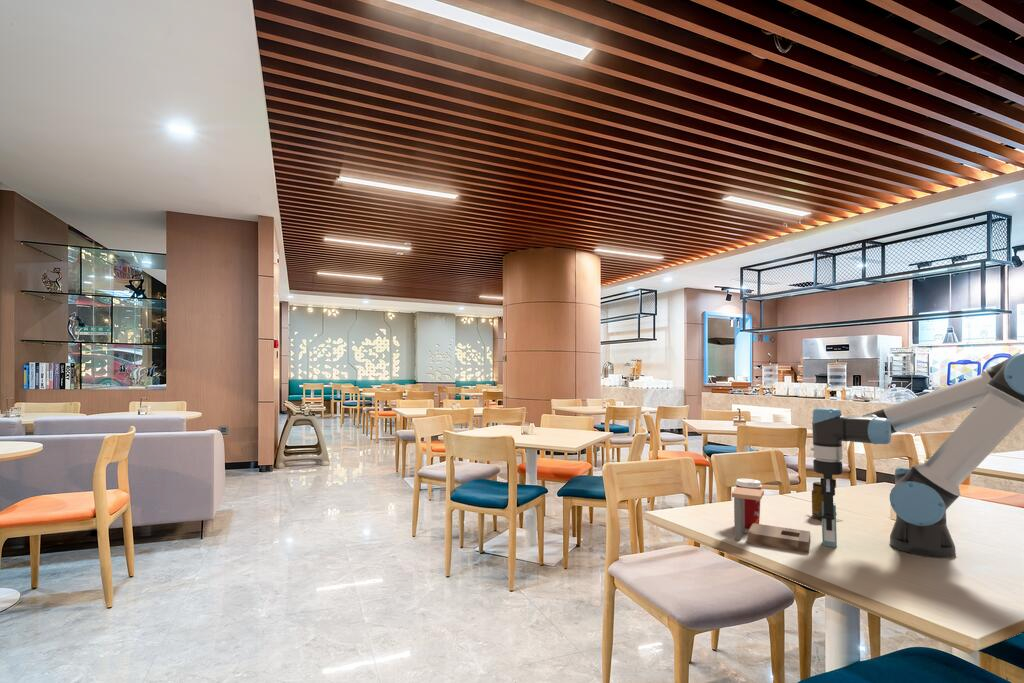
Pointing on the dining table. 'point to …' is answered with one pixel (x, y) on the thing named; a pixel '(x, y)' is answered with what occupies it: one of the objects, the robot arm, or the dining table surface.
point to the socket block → (779, 537)
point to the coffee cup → (750, 501)
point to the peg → (834, 544)
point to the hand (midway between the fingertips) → (829, 538)
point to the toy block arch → (739, 508)
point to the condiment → (817, 501)
